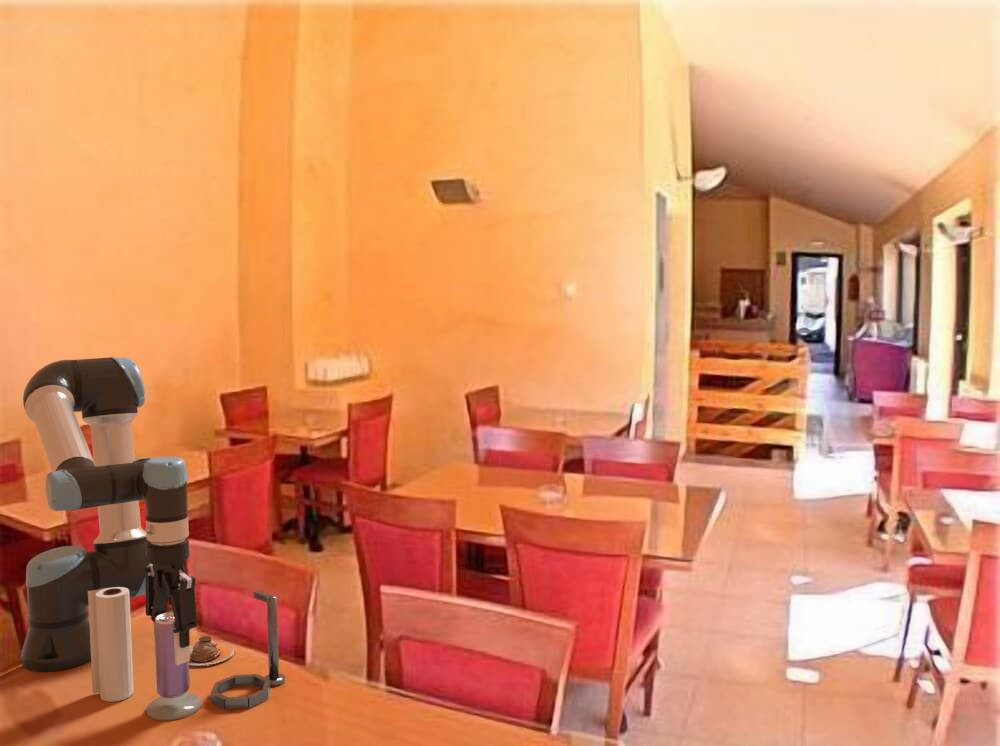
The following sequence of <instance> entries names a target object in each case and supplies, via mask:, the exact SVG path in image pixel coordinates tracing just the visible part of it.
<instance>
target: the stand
mask: <svg viewBox="0 0 1000 746" xmlns="http://www.w3.org/2000/svg"><path fill="white" fill-rule="evenodd" d="M253 597H254V598H253V599H256V600H259V601H262V602H265V603H266V611H267V613H266V616H267V617H266V620H267V649H268V650H267V652H268V653H267V654H268V655H267V656H268V658H267V659H268V674H266V675H265V676H262V675H260V674H256V673H248V674H245V673H244V674H233V675H231V676H228V677H226V678H223V679H221V680H218V681H217V682H214V684H213V687H212V689H211V692H210V702H211V704H213V705H214V706H217V707H219V708H220V709H223V710H240V709H241V710H243V709H244V710H245V709H246V710H247V709H251V708H253V707H255V706H257V705H258V706H259V704H262V703H265V702H266V701H268V700H269V697H270V693H271V687H272V688H273V687H274V688H275V687H278V686H281V685H282V686H283V684H285V682H286V675H285V674H282V673H280V662H279V632H278V631H279V629H278V628H279V622H278V618H279V617H278V595H276V594H270V593H266V592H264V591H261V590H257V591H254V592H253ZM252 686H254V687H256V688H258V689H260V690H258V691H256V692H254V693H251V694H249V695H245V696H244V695H243V696H241V695H240V696H230V697H229V696H227V695H224V694H222V693H224V692H226V691H228V690H231V689H233V688H235V687H252Z"/></svg>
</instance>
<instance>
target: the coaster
mask: <svg viewBox="0 0 1000 746" xmlns="http://www.w3.org/2000/svg"><path fill="white" fill-rule="evenodd" d="M202 704H203V703H202V698H201V697H200V696H198V695H196V694H194V693H189V692H187V693H186V694H184V695H183V696H180V697H177V698H163V697H161V696H159V697H157V698H156V699H154V700H152V701H151V702H150V703H148V704H147V706H146V709H145V711H146V712H145V713H146V715H147V716H148V718H150V719H151V720H155V721H177V720H180V719H184V718H188V717H189V716H191V715H194V714H195V713H197V712H198V711H199V710H200V709H201V707H202Z"/></svg>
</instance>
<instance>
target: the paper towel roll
mask: <svg viewBox="0 0 1000 746" xmlns="http://www.w3.org/2000/svg"><path fill="white" fill-rule="evenodd" d="M130 599H131V598H129V590H128V588H124V587H112V588H104V589H99V590H93V591H88V605H89V606H88V617H89V625H90V646H91V660H90V661H91V681H92V682H91V683H92V686H91V687H92V694H97V693H99V694H100V695H99V696H100V698H101V700H102V701H104V702H112V703H113V702H119V701H122V700H125V699H128V698H130V697H132V696H133V693H134V670H133V668H134V667H133V648H132V647H133V646H132V645H133V643H132V628H131V627H132V626H131V623H132V622H131V605H130V604H131V601H130Z"/></svg>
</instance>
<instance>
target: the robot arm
mask: <svg viewBox="0 0 1000 746" xmlns="http://www.w3.org/2000/svg"><path fill="white" fill-rule="evenodd" d="M145 392H146V391H145V385H144V381H143V378H142V375H141V371H140V368H139V367H138V365H137V363H136V362H135V360H132V358H130V357H114V356H110V357H98V358H82V359H63V360H62V359H60V360H57V361H56V360H55V361H53V362H50V363H48V364H46V365H44V366H43V367H42V368H40V369H39V370H38V371H37V372H36V373H35V374H33V375H32V376H31V378H30V379H29V381H28V382H27V384H26V386H25V388H24V391H23V396H22V401H23V402H22V404H23V408H24V410H25V414H26V416H27V418H29V419H30V420H31V422H34V423H35V425H36V429H37V432H38V435H39V438H40V440H41V443H42V446H43V450H44V452H45V455H46V458H47V461H48V463H49V465H50V469H51V471H50V472H49V473H48V474H47V475H46V477H45V494H46V500H47V505H48V507H49V509H50V510H51V511H54V512H63V511H77V510H82V509H83V510H84V509H88V508H89V509H90V508H96V507H97V513H98V525H99V534H98V536H97V537H96V538H95V539H94V540H93V550H89V551H87V550H86V549H85V548H84V547H83V545H82V546H81V545H75V544H73V545H71V546H70V545H66V546H60V547H56V548H51V549H48V550H45V551H43V552H41V553H39V554H37V555H35V556H34V557H32V558H31V559H30V560H29V561H28V563H27V565H26V568H25V569H26V570H25V572H26V573H25V574H26V575H25V583H24V584H25V586H26V593H27V594H26V596H27V613H28V616H27V617H28V629H27V632H26V636H25V639H24V643H23V647H22V650H21V655H20V659H21V666H22V667H23V668H24V669H26V670H29V671H32V672H55V671H64V670H68V669H72V668H75V667H78V666H81V665H84V664H87V663H88V662H90V661H91V646H90V625H89V605H88V591H93V590H99V589H104V588H112V587H124V588H128V590H129V598H130V599H135V598H137V597H139V596H143V595H144V596H145V615H146V616H147V617H150V619H151V621H152V622H153V624H154V623H155V618H156V617H157V616H158V615H160V614H163V613H167V612H168V611H167V610H168V604H169V600H170V604H171V608H172V609H171V610H172V612H173V615H174V619H175V624H176V629H175V630H173V632H174V653H175V665H180V664H182V663H185V662H188V661H189V662H191V658H190V655H191V654H190V649H189V647H190V646H191V645H190V644H191V643H190V642H191V638H190V637H191V636H190V630H191V629H195V628H197V626H198V620H197V619H198V618H197V607H196V594H195V593H196V592H195V585H196V577H195V576H194V575H192V576H188V574H187V572H186V569H185V565H184V564H185V562H186V561H187V560H188V559H189V557H190V540H189V539H188V537H189V535H190V531H189V515H188V514H189V513H188V478H189V477H188V473H187V466H186V461H185V460H184V459H183V458H182V457H178V456H177V457H176V456H170V455H169V456H167V455H166V456H159V457H158V456H157V457H145V456H144V457H139V458H137V459H136V458H135V447H134V446H135V445H134V436H133V426H132V424H133V421H134V420H135V418H137V417H138V415H139V413H138V412H139V411H138V408H141V407H143V406H144V404H145V403H146V402H145V400H146V397H145V396H146V393H145ZM76 413H81V418H82V419H81V420H82V421H83V422H84V423H86V424H87V425H88V426H89V427H90V435H91V437H90V438H91V446H92V447H91V448H92V453H91V450H90V448H89V445H88V443H87V440H86V438H85V435H84V433H83V431H82V428H81V426H80V423H79V420H78V418H77V416H76ZM140 501H144V511H145V529H143V527H142V523H141V512H140ZM153 634H154V640H155V633H154V632H153Z"/></svg>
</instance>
